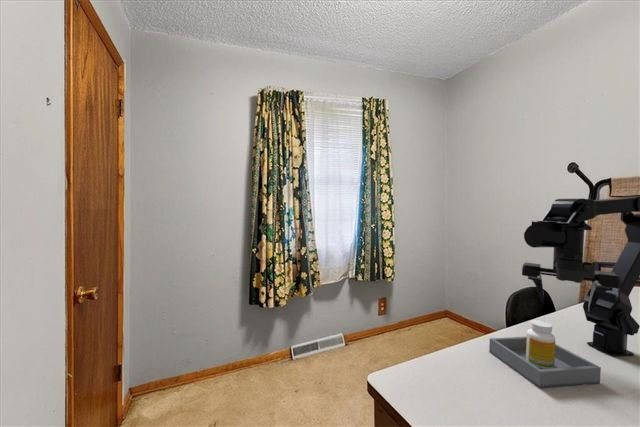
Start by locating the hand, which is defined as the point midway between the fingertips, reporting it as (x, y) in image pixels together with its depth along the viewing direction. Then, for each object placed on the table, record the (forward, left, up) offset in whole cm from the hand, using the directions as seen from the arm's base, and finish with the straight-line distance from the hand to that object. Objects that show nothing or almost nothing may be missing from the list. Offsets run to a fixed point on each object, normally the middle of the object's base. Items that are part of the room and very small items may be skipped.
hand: (565, 307), depth 73 cm
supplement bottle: (+12, +5, -12) cm, 17 cm away
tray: (+12, +5, -12) cm, 18 cm away
